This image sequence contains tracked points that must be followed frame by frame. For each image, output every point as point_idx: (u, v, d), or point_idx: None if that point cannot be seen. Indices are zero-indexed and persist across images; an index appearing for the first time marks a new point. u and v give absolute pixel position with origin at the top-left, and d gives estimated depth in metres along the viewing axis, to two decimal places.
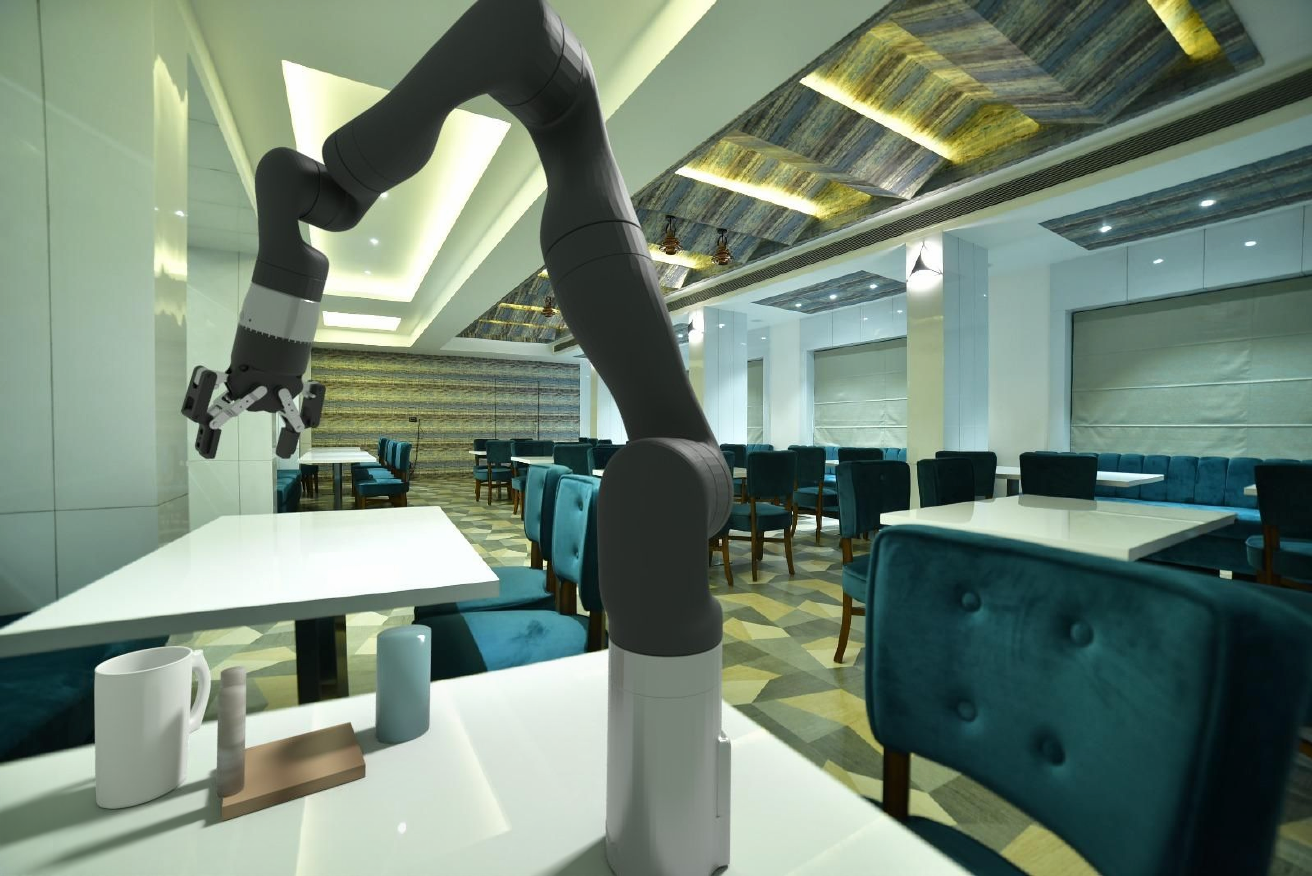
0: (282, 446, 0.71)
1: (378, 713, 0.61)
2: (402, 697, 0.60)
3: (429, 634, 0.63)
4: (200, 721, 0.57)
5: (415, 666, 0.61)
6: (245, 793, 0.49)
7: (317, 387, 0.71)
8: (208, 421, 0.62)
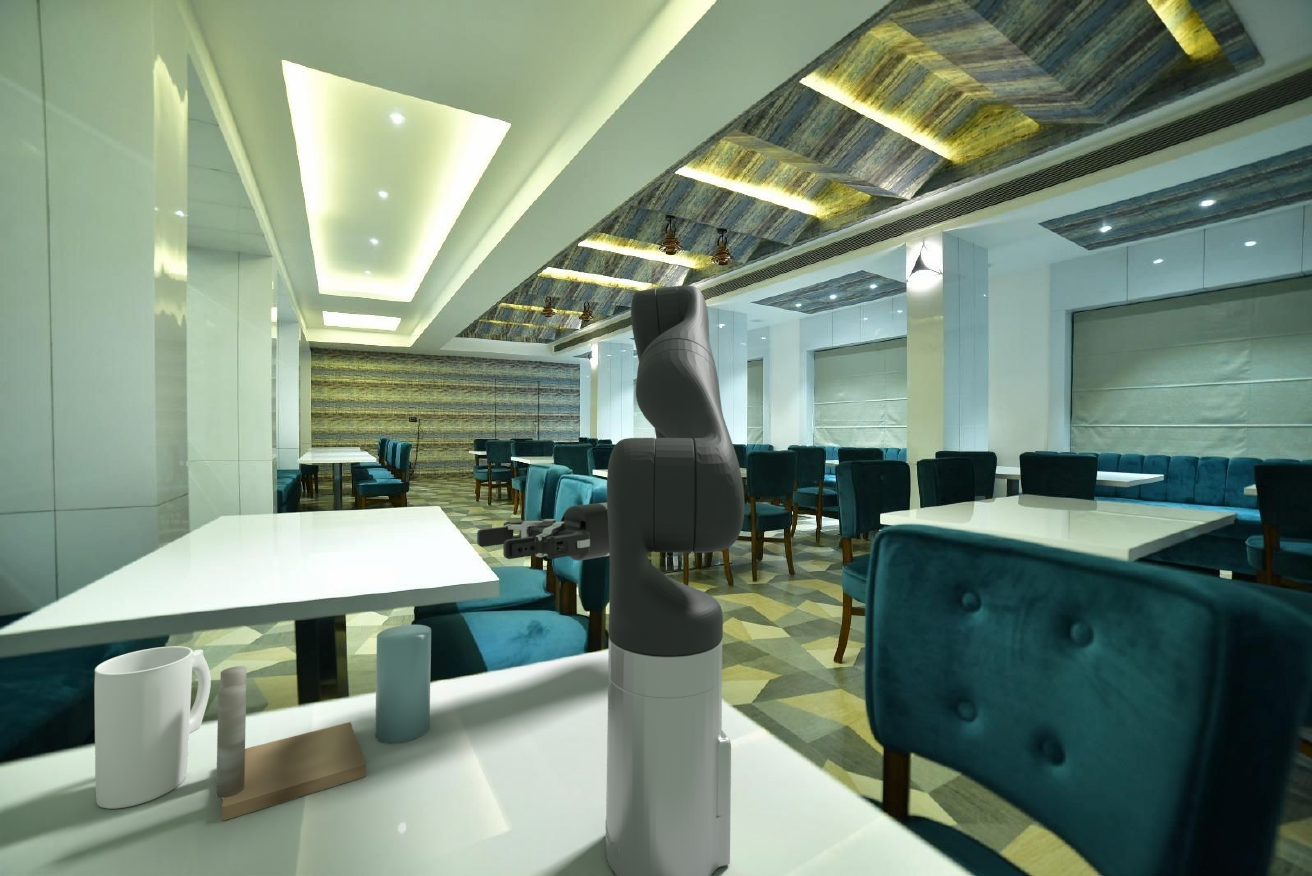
0: None
1: (378, 713, 0.61)
2: (402, 697, 0.60)
3: (429, 634, 0.63)
4: (200, 721, 0.57)
5: (415, 666, 0.61)
6: (245, 793, 0.49)
7: (583, 532, 0.70)
8: None
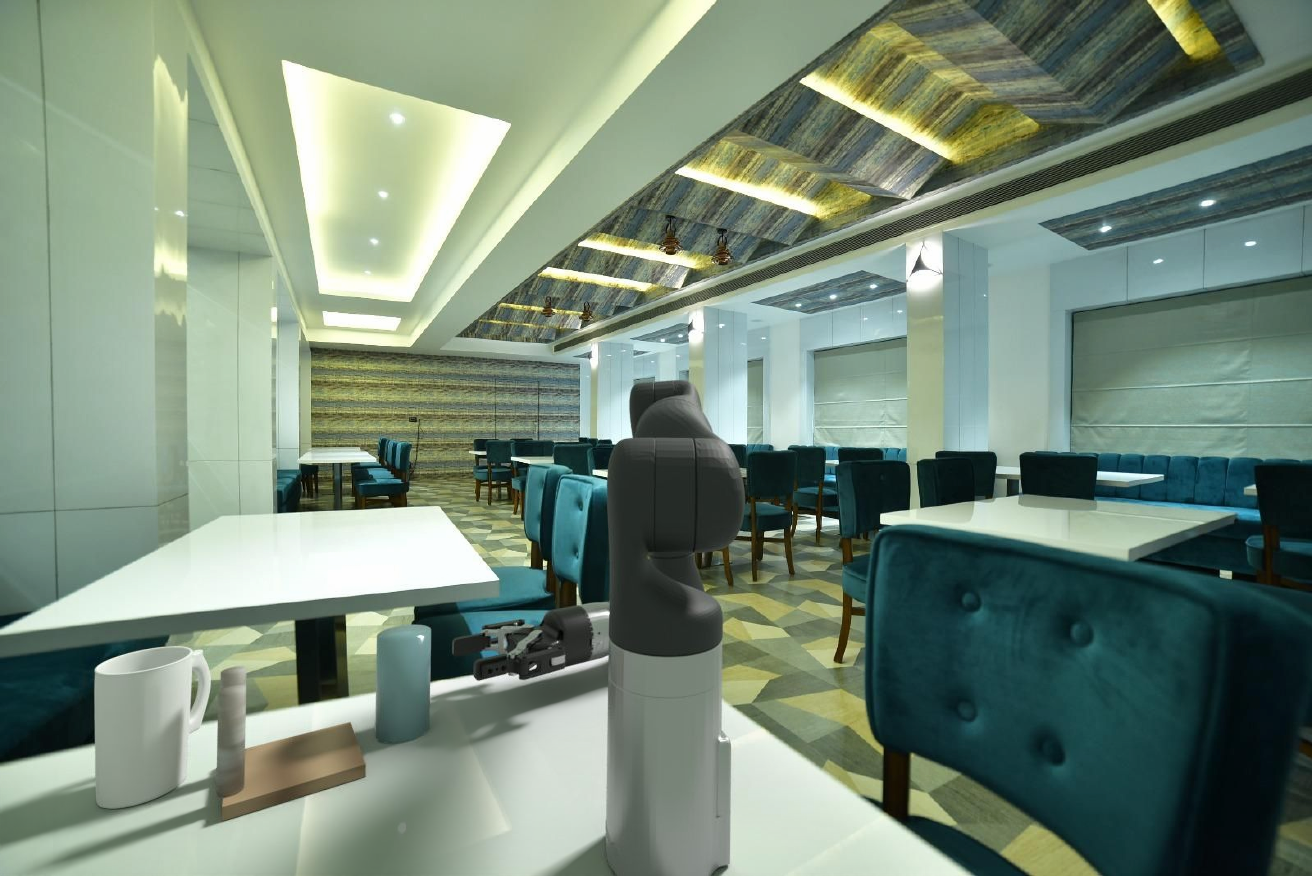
0: None
1: (378, 713, 0.61)
2: (402, 697, 0.60)
3: (429, 634, 0.63)
4: (200, 721, 0.57)
5: (415, 666, 0.61)
6: (245, 793, 0.49)
7: (559, 646, 0.68)
8: None
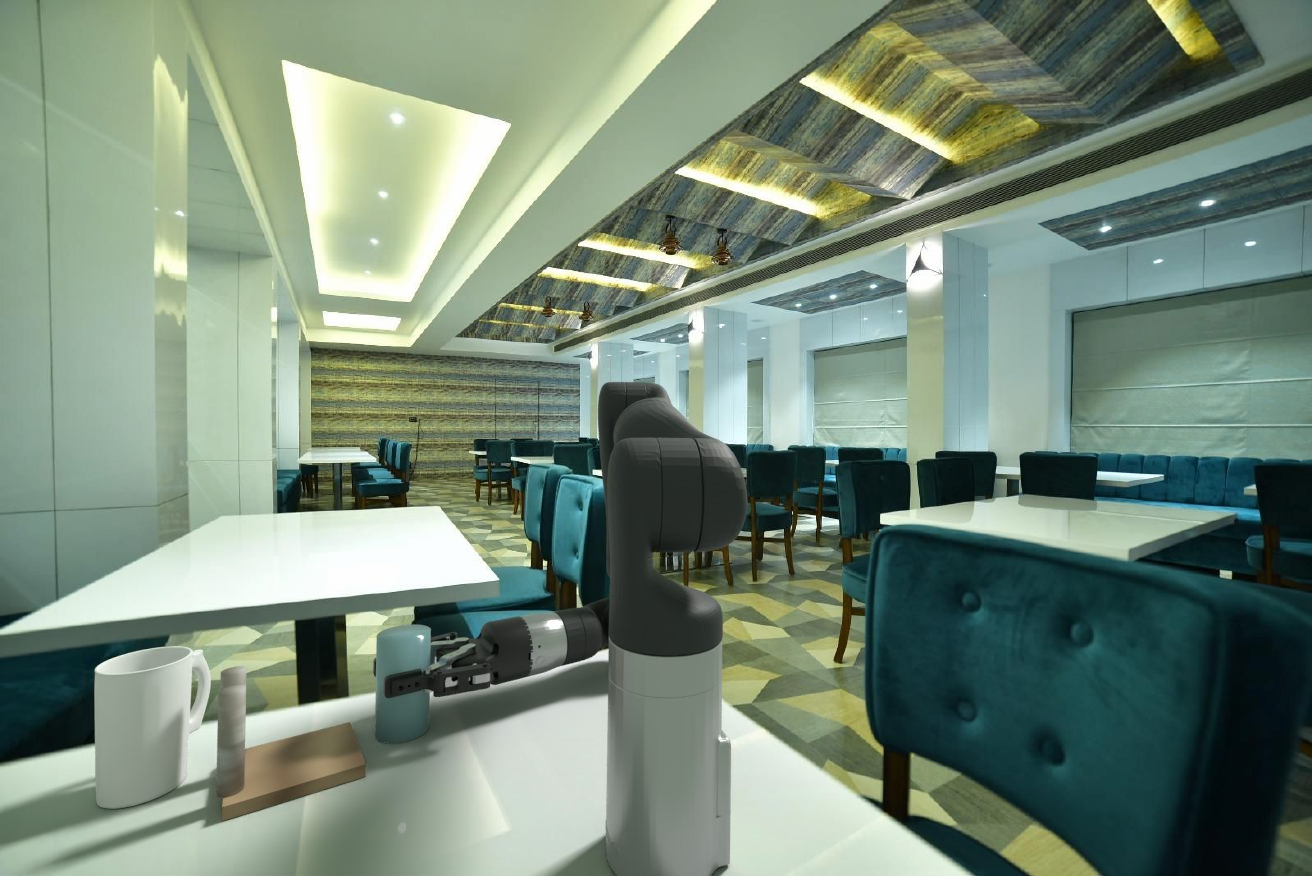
0: None
1: (378, 713, 0.61)
2: (401, 697, 0.60)
3: (428, 634, 0.63)
4: (200, 721, 0.57)
5: (415, 666, 0.61)
6: (245, 793, 0.49)
7: (485, 663, 0.63)
8: None
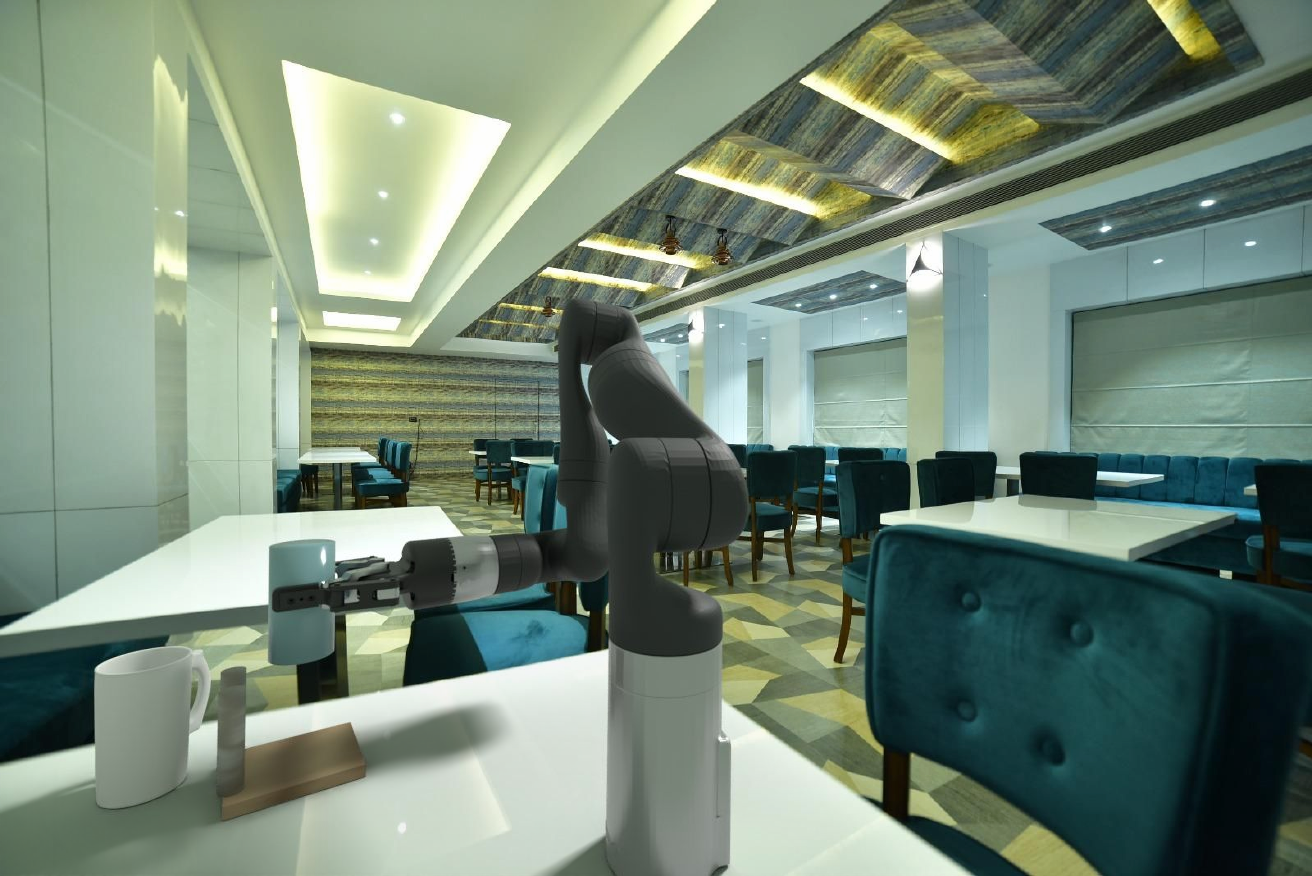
0: None
1: (269, 632, 0.53)
2: (295, 613, 0.53)
3: (330, 545, 0.55)
4: (200, 721, 0.57)
5: (312, 579, 0.54)
6: (245, 793, 0.49)
7: None
8: None
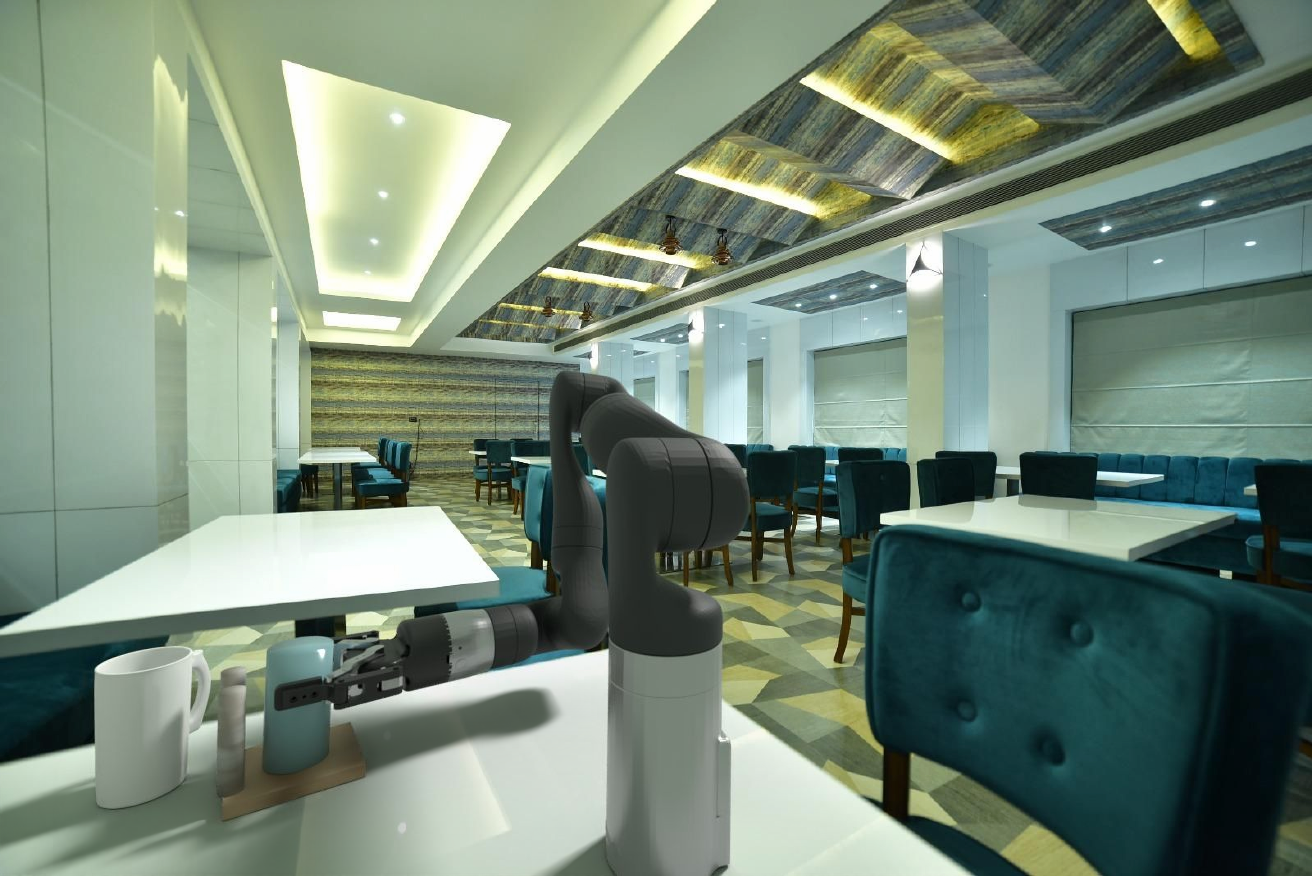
0: None
1: (264, 739, 0.53)
2: (291, 721, 0.52)
3: (329, 648, 0.55)
4: (200, 721, 0.57)
5: None
6: (245, 793, 0.49)
7: None
8: None
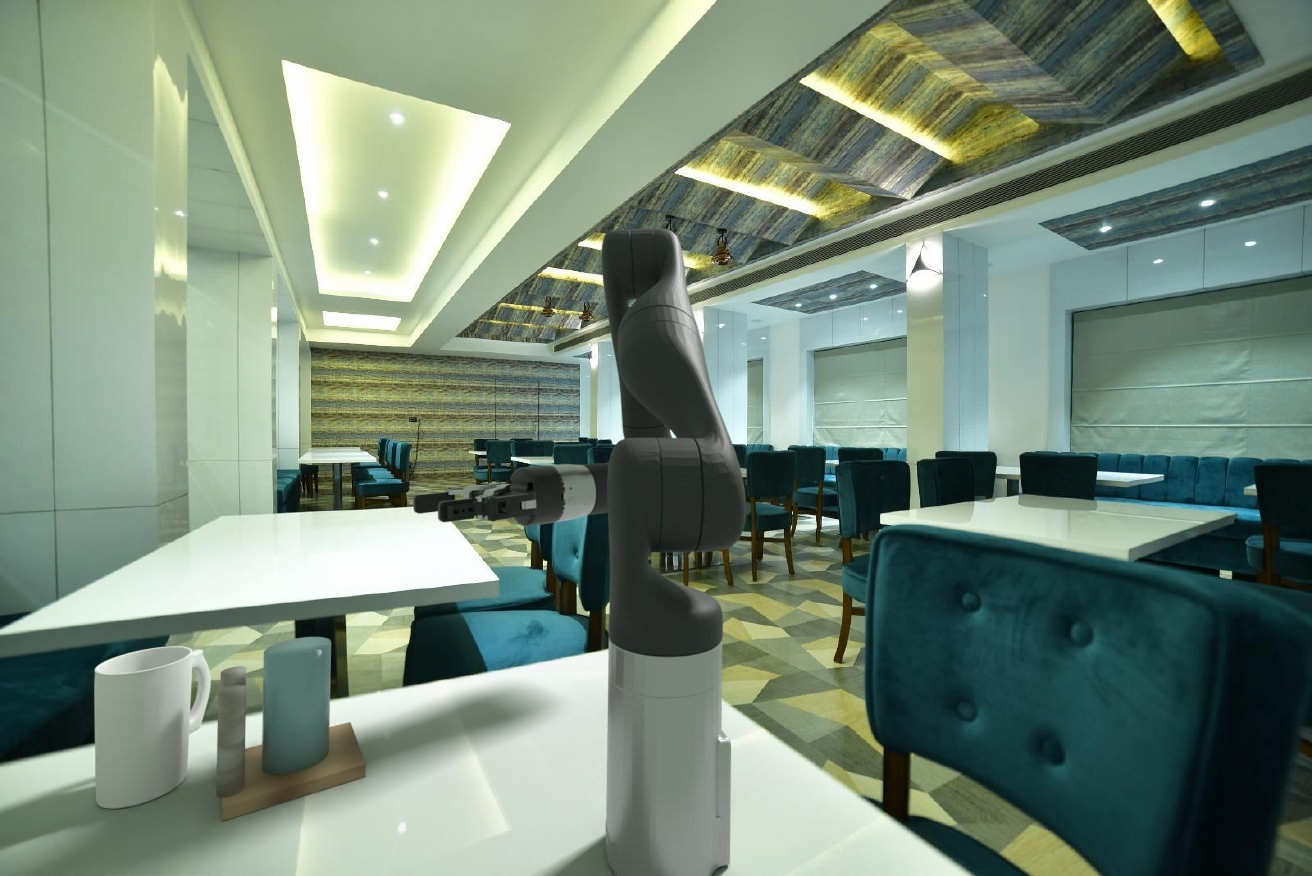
0: None
1: (263, 740, 0.53)
2: (290, 722, 0.52)
3: (326, 648, 0.55)
4: (200, 721, 0.57)
5: (307, 686, 0.53)
6: (245, 793, 0.49)
7: None
8: None
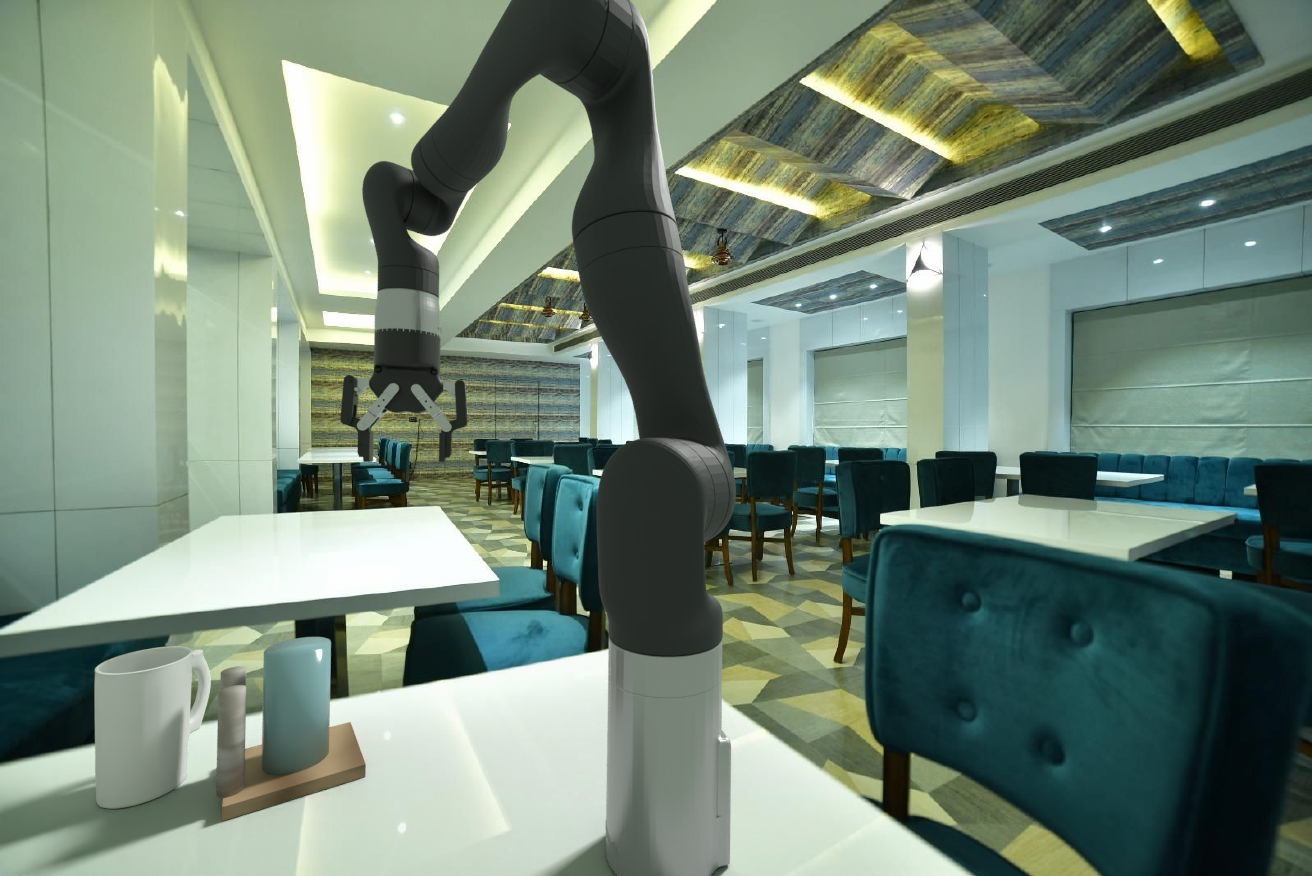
0: None
1: (263, 740, 0.53)
2: (290, 722, 0.52)
3: (326, 648, 0.55)
4: (200, 721, 0.57)
5: (307, 686, 0.53)
6: (245, 793, 0.49)
7: (454, 383, 0.69)
8: None
